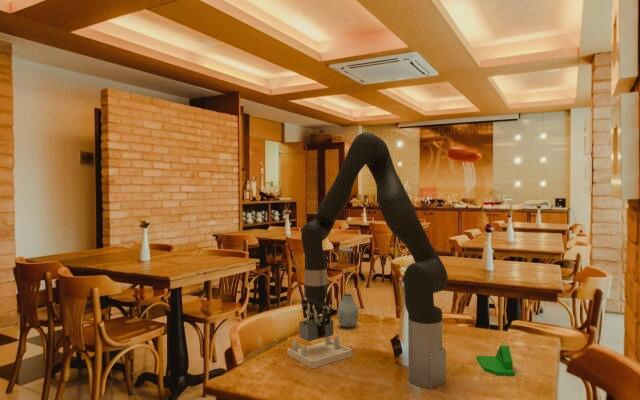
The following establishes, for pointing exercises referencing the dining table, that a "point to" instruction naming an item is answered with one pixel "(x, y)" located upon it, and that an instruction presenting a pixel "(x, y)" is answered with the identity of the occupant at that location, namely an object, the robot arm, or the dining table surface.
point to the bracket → (498, 362)
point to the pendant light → (347, 306)
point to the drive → (313, 329)
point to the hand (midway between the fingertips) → (316, 334)
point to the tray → (320, 352)
